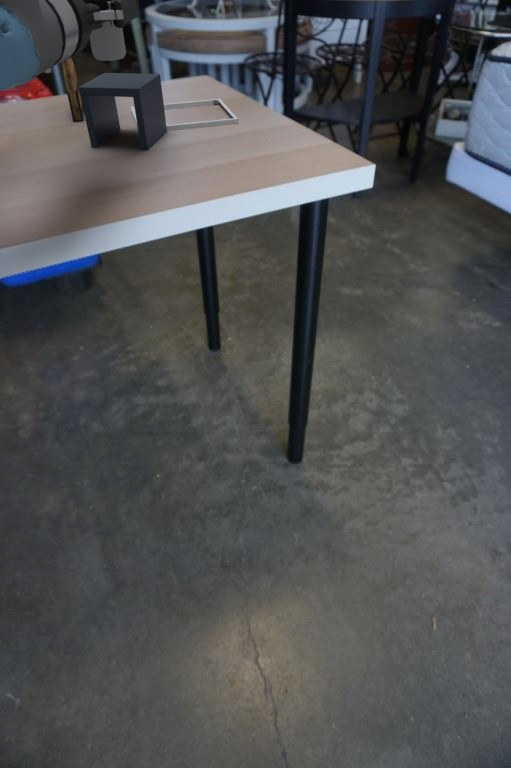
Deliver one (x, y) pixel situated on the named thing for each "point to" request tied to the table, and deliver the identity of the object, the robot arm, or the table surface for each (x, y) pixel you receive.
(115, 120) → the shelf
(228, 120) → the photo frame
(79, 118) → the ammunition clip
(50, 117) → the table surface
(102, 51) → the beverage can
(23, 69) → the robot arm
